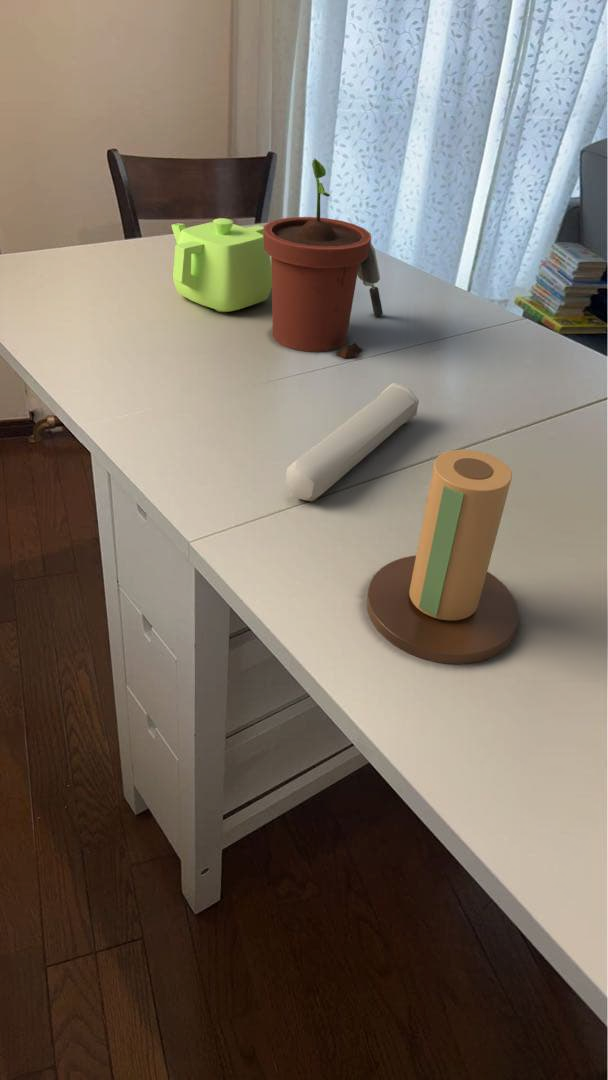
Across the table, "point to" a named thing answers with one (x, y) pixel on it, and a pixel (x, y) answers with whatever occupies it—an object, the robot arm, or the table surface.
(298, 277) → the potted plant
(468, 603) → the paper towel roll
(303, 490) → the tube
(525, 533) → the table surface
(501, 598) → the disc
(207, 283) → the teapot
